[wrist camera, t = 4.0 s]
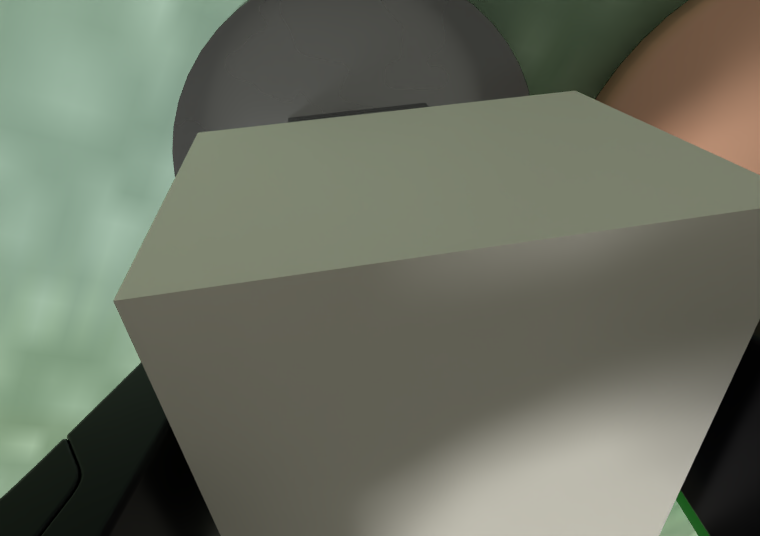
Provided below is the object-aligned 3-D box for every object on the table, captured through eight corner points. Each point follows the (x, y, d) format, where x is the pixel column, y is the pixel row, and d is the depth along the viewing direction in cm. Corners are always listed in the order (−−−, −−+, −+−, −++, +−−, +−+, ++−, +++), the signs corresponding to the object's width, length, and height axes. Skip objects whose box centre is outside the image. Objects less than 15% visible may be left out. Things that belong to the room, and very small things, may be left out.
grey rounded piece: (507, 277, 18) (605, 417, 12) (227, 319, 17) (199, 493, 11) (537, -51, 12) (738, -60, 7) (125, -18, 11) (-26, 3, 6)
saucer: (821, 295, 21) (848, 312, 20) (535, 343, 20) (549, 363, 19) (1016, -70, 14) (1073, -72, 13) (590, -33, 13) (617, -33, 12)
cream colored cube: (534, 360, 11) (652, 550, 8) (272, 405, 11) (265, 633, 7) (575, 90, 8) (815, 200, 4) (198, 132, 7) (112, 300, 4)
